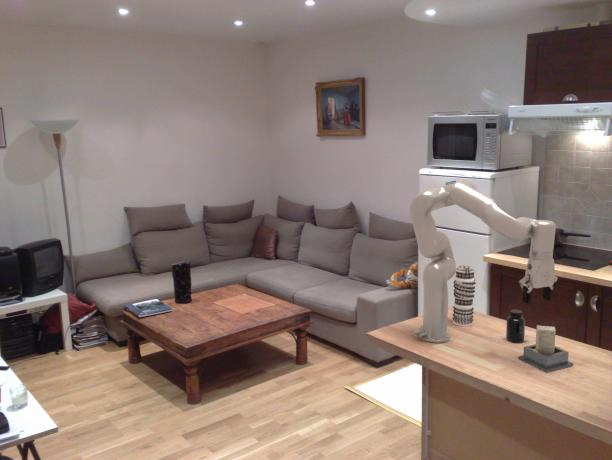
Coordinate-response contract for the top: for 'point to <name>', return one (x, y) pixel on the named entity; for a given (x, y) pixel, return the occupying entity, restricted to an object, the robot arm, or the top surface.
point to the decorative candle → (463, 296)
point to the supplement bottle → (515, 327)
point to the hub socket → (545, 359)
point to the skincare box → (545, 339)
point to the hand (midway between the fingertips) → (536, 301)
